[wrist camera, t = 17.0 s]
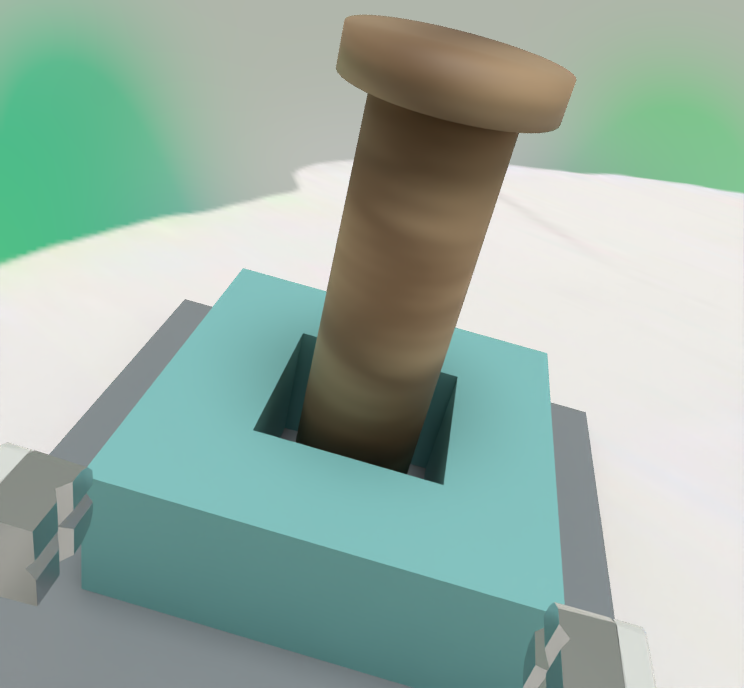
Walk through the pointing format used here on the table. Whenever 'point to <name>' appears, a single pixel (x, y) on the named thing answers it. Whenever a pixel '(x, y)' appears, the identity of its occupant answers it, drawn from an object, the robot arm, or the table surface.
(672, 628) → the table surface
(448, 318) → the pin
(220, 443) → the socket board
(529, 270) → the table surface
